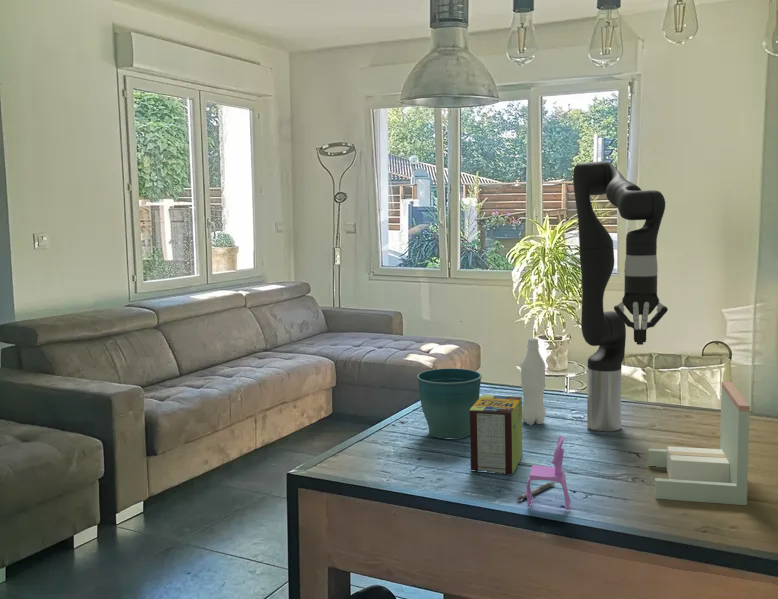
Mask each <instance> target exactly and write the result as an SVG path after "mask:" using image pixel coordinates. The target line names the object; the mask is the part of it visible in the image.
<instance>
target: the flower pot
mask: <svg viewBox="0 0 778 599" xmlns="http://www.w3.org/2000/svg"><path fill="white" fill-rule="evenodd" d="M482 377H483V376H482V374H481V373H480V372H479V371H477V370H473V369H465V368H451V367H449V368H446V367H445V368H437V369H436V368H435V369H428V370H424V371H421V372H420V373H418V374H417V376H416V378H417V382H418V389H419V397H420V398H419V399H420V400H419V401H420V405H421V408H422V413H423V415H424V419H425V420H426V424H427V428H428V433H429V435H431V436H432V437H434V436H435V437H434V438H437V437H439V438H438V439H442V438H458V439H462V438H461V437H463V438H465V436H466V437H469V436H470V412H469V410H470V409H471V407H472V406H473V405H474V404H475V403H476V402H477V400H478V399H479V398H480V394H481V393H480V390H481V381H482Z"/></svg>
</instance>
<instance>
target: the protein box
mask: <svg viewBox="0 0 778 599" xmlns="http://www.w3.org/2000/svg"><path fill="white" fill-rule="evenodd" d="M522 407H523V397H522V396H513V395H498V394H495V395H493V394H482V395H481V396H479V399H478V400H477V402H476V403H475V404H474V405H473V406H472V407H471V409H470V410H469V412H470V435H469V446H470V448H469V454H470V471H471V470H475V471H487V472H495V473H503V474H502V475H506V474H513V475H514V473H515V471H516V468H517V467H518V465H519V462H520V461H519V460H521V459H522V457H523V420H522ZM521 456H522V457H521ZM520 458H521V459H520ZM495 473H494V474H495ZM504 473H505V474H504Z"/></svg>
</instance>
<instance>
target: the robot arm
mask: <svg viewBox="0 0 778 599" xmlns="http://www.w3.org/2000/svg"><path fill="white" fill-rule="evenodd" d="M572 171H573V173H572V185H573V192H574V193H573V194H574V198H575V205H576V213H577V223H578V242H579V245H578V247H579V262H580V263H579V264H580V273H581V276H580V277H581V320H580V321H581V322H580V324H581V333H582V338H583V339H584V341H585V342H586V344H588V345H589V346H591V347H598V349H597V350H596V351H595V352H594V353H593V354H592V355H590V356H589V357H588V359H587V397H586V398H587V400H586V401H587V405H586V406H587V407H586V408H587V410H586V411H587V412H586V413H587V415H586V417H587V421H586V422H587V425H586V426H587V427H586V429H588V430H593V431H598V432H616V431H619V430H621V428H622V366H623V365H622V364H623V361H624V359H625V356H626V354H625V351H626V338H627V331H626V330H627V328H626V326H627V327H628V328H632V330H633V341H634V343H636V345H638V346H640V345H641V346H642V345H643V346H644V343H646V342H647V329H650V328H654V327H655V326H656V325H657V323H658V322H660V320H661V319H662V318H663V317H664V316H665V315H666V313H667V312H668V307H667V306H666V305H664V304H662V303H661V302H660V299H659V296H658V258H657V249H658V245H657V244H658V243H657V242H658V235H659V231H660V227H661V223H662V220H663V217H664V214H665V209H666V199H665V196H664V195H663V193H662V192H661V191H659V190H656V189H654V190H653V189H651V190H642V189H641V188H640V187H639V186H638V185H636V184H635V183H633V182H631V181H629V180H627V179H626V178H625V177H624V176H623V174H622V173H621V172H620V171H619V170H618V169H617V167H616V166H615V165H614V164H612V163H611V162H609V161H590V162H579V163H577V164H575V166H574V168H573V170H572ZM601 195H603V196H604V195H606V199H607V200H608V202H609V203H610V204H611V205H612V206H614V207H615V208H617V210H618V213H619V215H620V217H621V218H622V219H624V220H627V221H644V223H643V226H642V227H641V228H638V229H634V230H631V231H628V232H627V234H626V238H625V261H624V270H623V272H624V293H623V294H624V295H623V297H622V300H621V302H620V303H618V304H617V305H614V307H613V311H612V310H611V311H610V310H609V311H604V295H605V291H606V289H607V285H608V284H609V281H610V278H611V276H612V273H613V271H614V267H615V251H614V241H613V238H612V236H611V235H610V233H609V232H608V230H607V229H606V227H605V226H604V225H603V224H602V222H601V221H600V219H599V218H598V217H597V216H596V213H595V211H594V208H593V205H592V201H591V197H590V196H601ZM625 308H626V309H627V310H628V312H629V313H630V314H631V315H632V318H633V319H632V321H631V320H630V318H628V316H627V315H626V313H625ZM655 309H656V313H655V314H654V315H653V317H652V318H651V319H650V320H649V321H648V319H649V315H651V314H652V312H653V311H654V310H655ZM640 316H641V321H640ZM640 322H641V323H640Z"/></svg>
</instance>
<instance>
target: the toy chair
mask: <svg viewBox="0 0 778 599" xmlns="http://www.w3.org/2000/svg"><path fill="white" fill-rule="evenodd" d="M557 440H558V441H557V445H556V447H555V450H554V453H553V460H552V461H551V463H552V464H553V465H554V466H544V465H535V464H532V466H531V470H530V473H529V475H528V478H527V481H526V489H525V490H526V494H527V498H526V500H527V507H528V506H529V507H530V504H531V500H532V497H533V498H534V495H533V496H532V493H531V491H532V490H531V482H532V481H549V482H555V483H559V484H560V485H561V486H562V487H561V488H562V492H563V496H564V501H565V507H566V511H567V510H569V511H570V509H569V504H570V505H571V498H570V495H569V491H568V485H567V479H566V478H567V477H566V474H565V472H564V471H563V467H562V466H563V460H564V454H565V449H564V448H562V447H563V444H564V440H565V437H564V436H563V435H560V436H558V439H557ZM531 505H532V504H531Z"/></svg>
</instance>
